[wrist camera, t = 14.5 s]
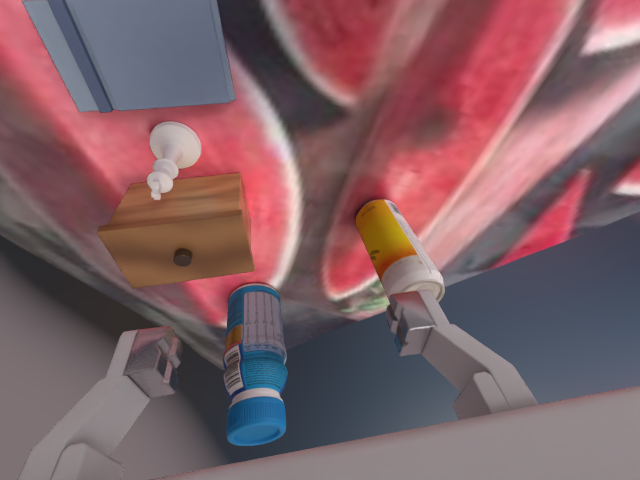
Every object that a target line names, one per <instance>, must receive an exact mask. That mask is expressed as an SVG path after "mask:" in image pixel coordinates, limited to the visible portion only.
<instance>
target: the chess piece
mask: <svg viewBox="0 0 640 480" xmlns="http://www.w3.org/2000/svg"><path fill="white" fill-rule="evenodd" d="M150 148H151V150H152V152H153V154H154V156H155V157H156V158H157V159H158V160H156V161H155V162H154V163H153V171H154V172H152V173H150V174H149V175H148V177H147V184H148V186H149V187H150V188H151V189H152V192H151V197H154V200H160V198H161V193H166V192H168V191H170V190H171V189H172V187H173V179H174V178H176V177H177V175H178V172H179V171H178V169H182V168H187V167H190V166H192V165H193V164H195V163H196V161H197V160H198V159H199V157H200V155H201V142H200V140H199V138H198V136H197V135H196V133H195V132H194V131H193V130H192V129H191V128H189V127H188V126H186V125H184V124H182V123H179V122H174V121H166V122H162V123H160V124H158V125H157V126H156V127H155V128H154V129H153V130H152V132H151V135H150Z"/></svg>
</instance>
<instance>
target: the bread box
mask: <svg viewBox="0 0 640 480" xmlns="http://www.w3.org/2000/svg"><path fill="white" fill-rule="evenodd" d="M151 192H152V189H151V188H150V187H149V186H148V184H147V182H145V183H136V184H131V185H130V187H129V188H128V190H127V192H126V194H125V195H124V197H123V199H122V200H121V202H120V204H119V206H118V207H117V209H116V211H115V213H114V214H113V216H112V218H111V220H110V221H109V223H108V225H103V226H100V227H99V229H98V231H97V234H98V235H99V237H100V239H101V240H102V242H103V243H104V245H105V246H106V248H107V249H108V251H109V252H110V254H111V256H112V257H113V259H114V260H115V262H116V263H117V265H118V266H119V268H120V270H121V271H122V273H123V274H124V276H125V277H126V279H127V280H128V282H129V283H130V285H131V287H132V288H140V287H147V286H154V285H161V284H168V283H175V282H182V281H189V280H197V279H204V278H211V277H218V276H225V275H232V274H239V273H246V272H253V271H255V265H254V261H253V256H252V252H251V219H250V214H249V210H248V205H247V200H246V195H245V191H244V186H243V181H242V176H241V173H234V174H224V175H214V176H204V177H194V178H185V179H175V180H173V187H172V189H171V190H170V191H168V192H166V193H161V198H160V200H154V197H151Z"/></svg>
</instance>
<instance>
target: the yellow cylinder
mask: <svg viewBox="0 0 640 480" xmlns="http://www.w3.org/2000/svg"><path fill="white" fill-rule="evenodd" d="M356 226H357V229H358V231H359V233H360V236H361V238H362V240H363V242H364V245H365V247H366V249H367V251H368V254H369V256H370V258H371V261H372V263H373V265H374V267H375V270H376V272H377V274H378V277H379V279H380V281H381V283H382V286H383V288H384V290H385V292H386V295H387V297H388V299H389V297H390V295H391V294H395V293H402V292H408V291H414V290H415V291H417V290H423V289H429V290H431V291H432V293H433V295H434V297H435V298H436V300H437V302H439V301H440V300H441V299H442V297H443V295H444V291H445V288H444V286H443V277H442V275H441V274H440V272H439V271H438V269H437V268H436V266H435V265H434V263H433V261H432V260H431V258H430V257H429V255H428V254H427V252H426V251H425V249H424V248H423V246H422V245H421V243H420V242H419V240H418V239H417V237H416V235H415V234H414V232H413V231H412V229H411V228H410V226H409V225H408V223H407V222H406V220H405V219H404V217H403V216H402V214H401V213H400V211H399V210H398V208H397V206H396V205H395V204H394V203H393V202H391V201H389V200H384V199H381V200H373V201H370V202H368V203H367V204H365V205H364V206H363V207H362V208H361V210H360V211H359V213H358V214H357V217H356Z"/></svg>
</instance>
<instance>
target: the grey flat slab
mask: <svg viewBox="0 0 640 480" xmlns="http://www.w3.org/2000/svg"><path fill="white" fill-rule="evenodd" d="M22 2H23V4H24V6H25V8H26V10H27V12H28V14H29V16H30V18H31V20H32V22H33V24H34V25H35V27H36V29H37V31H38V33H39V35H40V37H41V39H42V41H43V43H44V45H45V47H46V49H47V50H48V52H49V54H50V56H51V58H52V60H53V62H54V64H55V66H56V68H57V70H58V72H59V74H60V76H61V77H62V79H63V81H64V83H65V85H66V87H67V89H68V91H69V93H70V95H71V97H72V99H73V101H74V102H75V104H76V106H77V108H78V110H79V112H86V111H100V112H101V113H103V112H112V111H113V110H114V109H118V111H126V110H139V109H153V108H166V107H180V106H193V105H207V104H220V103H230V101H235V93H234V87H233V82H232V77H231V71H230V66H229V61H228V56H227V50H226V45H225V40H224V35H223V29H222V24H221V19H220V13H219V8H218V3H217V0H25V1H22Z"/></svg>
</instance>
